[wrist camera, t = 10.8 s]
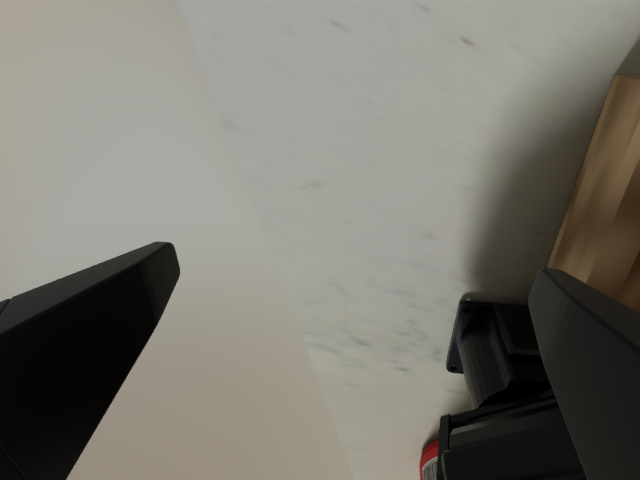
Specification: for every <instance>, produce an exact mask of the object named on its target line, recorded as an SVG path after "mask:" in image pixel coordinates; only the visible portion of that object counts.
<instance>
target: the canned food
mask: <svg viewBox="0 0 640 480" xmlns="http://www.w3.org/2000/svg"><path fill="white" fill-rule="evenodd" d="M438 444H439V439H437V440H435V441H433V442H432V443H430V444H429V445H428V446H427V447H426V448H425V449H424V451H423V452H422V456H421V461H420V466H419V467H420V480H436V474H437V459H438Z"/></svg>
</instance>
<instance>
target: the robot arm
mask: <svg viewBox="0 0 640 480" xmlns="http://www.w3.org/2000/svg"><path fill="white" fill-rule="evenodd" d="M179 275H180V267H179V263H178V259H177V255H176V251H175V248H174V246H173V244H172V243H169V242H154V243H151V244H149V245H146V246H143V247H141V248H138V249H136V250H133V251H130V252H128V253H125V254H123V255H120V256H118V257H115V258H112V259H110V260H107V261H105V262H102V263H99V264H97V265H94V266H92V267H90V268H87V269H84V270H81V271H79V272H76V273H74V274H71V275H69V276H66V277H63V278H61V279H58V280H56V281H53V282H51V283H48V284H45V285H43V286H40V287H38V288H35V289H32V290H30V291H27V292H25V293H22V294H19V295H17V296H14V297H12V298H11V299H6V300H4V301H1V302H0V480H66V479H67V477H68V475H69V474H70V472H71V470H72V469H73V467H74V465H75V464H76V462H77V460H78V459H79V457H80V455H81V453H82V452H83V450H84V448H85V447H86V445H87V443H88V442H89V440H90V438H91V437H92V435H93V433H94V432H95V430H96V428H97V426H98V425H99V423H100V421H101V420H102V418H103V416H104V415H105V413H106V411H107V410H108V408H109V406H110V404H111V403H112V401H113V399H114V398H115V396H116V394H117V393H118V391H119V389H120V388H121V386H122V384H123V382H124V381H125V379H126V377H127V376H128V374H129V372H130V371H131V369H132V367H133V366H134V364H135V362H136V360H137V359H138V357H139V355H140V354H141V352H142V350H143V349H144V347H145V345H146V344H147V342H148V340H149V339H150V337H151V335H152V333H153V332H154V330H155V328H156V326H157V324H158V322H159V320H160V318H161V316H162V314H163V312H164V309H165V307H166V305H167V303H168V301H169V299H170V296H171V294H172V292H173V290H174V287H175V285H176V283H177V281H178V279H179ZM528 305H529V306H525V305H512V304H500V303H487V302H475V301H464V302H461V303H460V304H459V307H458V311H457V316H456V320H455V325H454V329H453V334H452V338H451V343H450V347H449V352H448V356H447V361H446V367H447V370H448V371H449V372H452V373H460V374H464V376H465V380H466V385H467V389H468V394H469V398H470V403H471V407H472V410H468V411H465V412H461V413H458V414H454V415H450V414H448V415H444V416H441V419H440V430H439V444H438V459H437V474H436V480H640V314H639V313H638V312H636V311H634V310H632V309H630V308H629V307H627V306H625V305H623V304H622V303H620V302H618V301H616V300H614V299H613V298H611V297H609V296H607V295H606V294H604V293H602V292H600V291H598V290H597V289H595V288H593V287H591V286H589V285H588V284H586V283H584V282H582V281H581V280H579V279H577V278H575V277H573V276H572V275H570V274H568V273H566V272H565V271H563V270H561V269H553V268H541V269H540V270H539V271H538V272H537V274H536V277H535V280H534V283H533V286H532V289H531V291H530V294H529V299H528ZM465 308H470V309H468V310H465Z"/></svg>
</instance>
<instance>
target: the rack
mask: <svg viewBox="0 0 640 480" xmlns="http://www.w3.org/2000/svg"><path fill="white" fill-rule="evenodd" d="M546 268H553V269H561V270H563V271H565V272H566V273H568V274H570V275H572V276H573V277H575V278H577V279H579V280H581V281H582V282H584V283H586V284H588V285H589V286H591V287H593V288H595V289H597V290H598V291H600V292H602V293H604V294H606V295H607V296H609V297H611V298H613V299H614V300H616V301H618V302H620V303H622V304H623V305H625V306H627V307H629V308H630V309H632V310H634V311H636V312H638V313H639V314H640V75H614V77H613V80H612V83H611V85H610V88H609V91H608V94H607V97H606V100H605V102H604V105H603V108H602V111H601V114H600V117H599V120H598V122H597V125H596V128H595V131H594V134H593V137H592V139H591V142H590V145H589V148H588V151H587V154H586V157H585V159H584V162H583V165H582V168H581V171H580V174H579V176H578V179H577V182H576V185H575V188H574V191H573V194H572V196H571V199H570V202H569V205H568V208H567V211H566V213H565V216H564V219H563V222H562V225H561V228H560V231H559V233H558V236H557V239H556V242H555V245H554V248H553V250H552V253H551V256H550V259H549V262H548V265H547V267H546Z"/></svg>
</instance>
